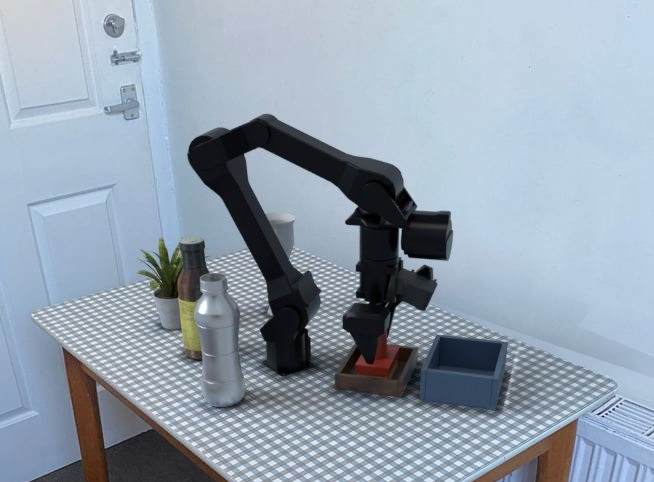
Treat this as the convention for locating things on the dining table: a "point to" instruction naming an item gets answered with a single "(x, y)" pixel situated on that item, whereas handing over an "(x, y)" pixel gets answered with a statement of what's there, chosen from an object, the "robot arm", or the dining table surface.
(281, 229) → the chalice
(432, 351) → the tote
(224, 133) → the robot arm
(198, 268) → the sauce bottle
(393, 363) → the brush
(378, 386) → the brown wooden tray
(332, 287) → the dining table surface
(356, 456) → the dining table surface
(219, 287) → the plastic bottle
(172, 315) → the house plant
